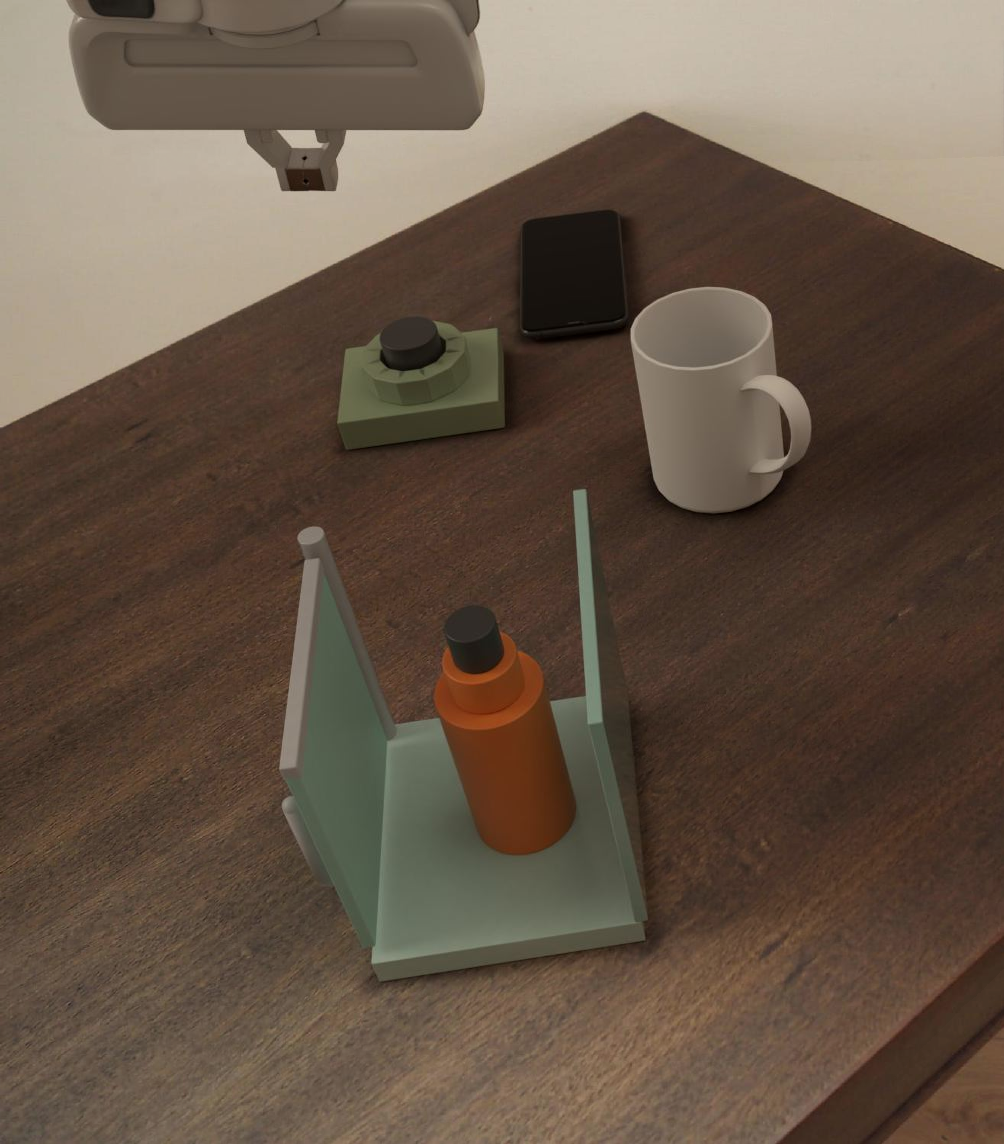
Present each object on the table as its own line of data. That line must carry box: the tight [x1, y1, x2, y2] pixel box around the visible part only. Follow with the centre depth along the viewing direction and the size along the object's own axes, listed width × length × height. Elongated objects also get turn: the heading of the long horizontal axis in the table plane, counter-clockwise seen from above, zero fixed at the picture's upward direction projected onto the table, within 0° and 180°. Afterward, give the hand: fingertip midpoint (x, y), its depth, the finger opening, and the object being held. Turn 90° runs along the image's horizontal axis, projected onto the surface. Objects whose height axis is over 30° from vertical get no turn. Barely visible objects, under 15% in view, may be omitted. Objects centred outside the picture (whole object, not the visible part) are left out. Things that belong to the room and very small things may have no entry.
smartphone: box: [518, 209, 630, 340], centre depth 110 cm, size 7×1×15 cm
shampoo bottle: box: [433, 604, 576, 855], centre depth 70 cm, size 5×5×13 cm
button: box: [379, 315, 443, 371], centre depth 98 cm, size 4×4×2 cm
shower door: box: [278, 558, 387, 949], centre depth 69 cm, size 2×12×12 cm, turn 7°
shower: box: [296, 488, 649, 983], centre depth 70 cm, size 13×14×15 cm
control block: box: [336, 320, 506, 451], centre depth 100 cm, size 10×8×4 cm
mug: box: [630, 286, 812, 514], centre depth 89 cm, size 12×8×10 cm, turn 41°
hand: (310, 184), depth 86 cm, fingers closed
